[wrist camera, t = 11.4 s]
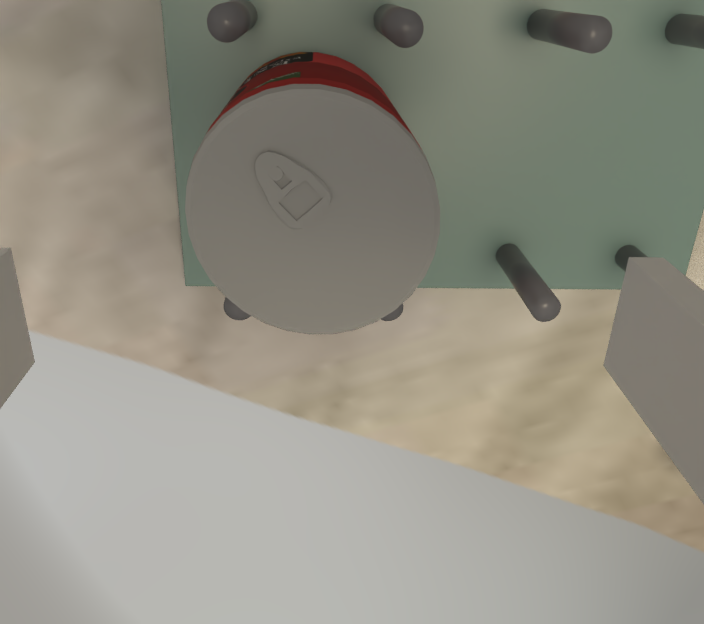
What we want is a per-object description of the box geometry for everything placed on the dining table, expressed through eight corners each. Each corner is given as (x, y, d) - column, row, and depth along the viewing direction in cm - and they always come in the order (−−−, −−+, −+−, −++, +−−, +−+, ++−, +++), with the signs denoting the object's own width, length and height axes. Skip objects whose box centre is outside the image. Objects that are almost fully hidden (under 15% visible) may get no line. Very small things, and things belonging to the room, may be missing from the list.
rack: (750, -16, 29) (872, -15, 23) (672, 282, 35) (750, 347, 29) (162, -37, 27) (118, -43, 21) (188, 277, 34) (160, 346, 27)
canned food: (283, 10, 27) (266, 27, 18) (436, 121, 30) (497, 190, 20) (192, 164, 30) (134, 254, 20) (340, 255, 32) (352, 376, 23)
